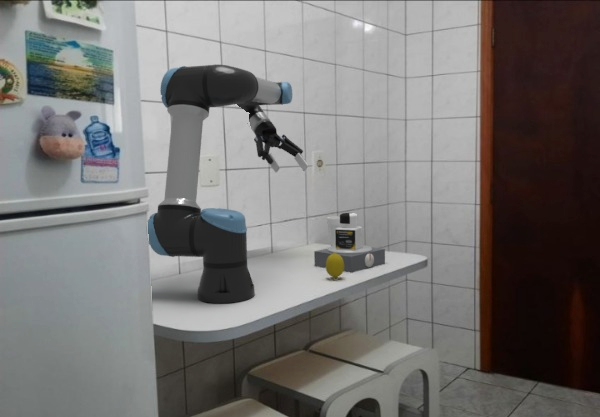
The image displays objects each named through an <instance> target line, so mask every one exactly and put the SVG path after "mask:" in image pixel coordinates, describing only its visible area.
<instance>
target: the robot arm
mask: <svg viewBox="0 0 600 417" xmlns="http://www.w3.org/2000/svg"><path fill="white" fill-rule="evenodd" d="M159 90H160V95H161V98H160V99H161V102H162V104H163V105H164V107H165V108H166V109H167V110H166V112H167V113H168V114H169V115H170V117H171V125H170V126H171V127H170V137H169V146H168V147H169V148H168V155H167V156H168V158H167V159H168V160H167V168H166V169H167V170H166V178H165V179H166V180H165V188H164V189H165V190H164V199H163V201H161V202H160V203H159V204H158V205H157V211H156V212H154V213H153V214H150V216H149V218H148V220H147V222H148V234H149V241H148V243H149V245H150V248H151V250H152V251H153V252H154V253H155V254H156V255H159V256H164V257H165V256H166V257H172V258H175V257H192V258H202V261H203V262H202V264H203V268H202V273H201V276H200V281H199V283H198V287H197V298H198V300H199V301H202V302H205V303H211V304H213V303H214V304H229V303H236V302H243V301H246V300H250V299H251V298H253V297H255V295H256V294H255V293H256V292H255V290H256V289H255V285H254V282H253V279H252V276H251V274H250V270H249V267H248V252H247V251H248V247H247V244H248V243H247V239H248V237H247V231H248V229H247V223H246V217H245V214H243V213H242V212H240V211H237V210H234V209H227V208H220V207H219V208H217V207H216V208H215V207H208V208H203V209H202V208H201V207H200V206H199V205H198V203H197V194H198V183H199V172H200V162H201V160H200V159H201V149H202V148H201V146H202V137H203V136H202V134H203V125H204V124H203V123H204V121H205V120H206V119H207V118H209V116H210V108H216V107H217V108H219V107H227V106H228V107H229V106H232V105H233V106H234V105H235V104H237V105H238V106H239V107H241V108H242V109H244V110H245V111H246V112H249V113H250V114H249V122H250V126H251V128H250V129H251V131H252V132H253V133H254V135H255V137H254V139H253V140H254V143H255V145H256V153H257V157H258V158H261V160H263V161H265V160H266V162H267V163H268V165H270V167H271V168H272V170H273V171H274V173H278V171H279V170H280V169H281V167H282V166H281V165H280V163H279V162H278V161H277V160H276V158H275V156H274V154H272V152H271V153H270V150H271V148H277V149H279V150H283V151H284V152H286V153H287V154H289V155H291V156H293V157H294V160H295V162H296V163H297V165H298V166H299V167H300V168H301V169H302V171H303V172H306V170H307V169H308V167H309V164H308V163H307V161H306V160H305V158H304V156H303V155H302V154H303V153H304V150H303V149H302V148H301V147H299V146H298V145H297V144H295V143H294V142H293V141H291V140H290V139H289V138H288V137H287V136H286V135H285V134H282V136H281V135H279V134H278V133H277V131H278V130H277V128H276V126H275V125H274V124H273V122H272V121H271V119H270V118H269V116H268V115H267V114H266V113H265V111H264V110H263V109H262V107H261V106H272V105H273V106H274V105H276V106H277V105H278V106H280V105H288V104H291V102H292V100H293V87H292V85H291V83H290V82H289V81H280V82H279V81H278V82H275V81H271V80H267V79H264V78H260V77H257V76H256V75H255V74H254V73H252V72H251V71H248V70H245V69H244V68H240V67H235V66H231V65H226V64H208V65H194V66H191V65H190V66H185V65H182V66H179V67H173V68H170V69H169V70H167V71H166V72H165V74H164V75H163V76H162V79H161V82H160V89H159ZM250 126H249V127H250ZM263 144H264V145H263Z"/></svg>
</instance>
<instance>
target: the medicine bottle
mask: <svg viewBox="0 0 600 417" xmlns="http://www.w3.org/2000/svg"><path fill="white" fill-rule="evenodd" d="M339 216H340V225H341V227H339V228H336V229H335V236H336V249H339V250H357V249H359V248H361V247H362V245H363V227H362V226H360V225H359V221H358V220H359V219H358V214H357V213H355V212H344V213H343V212H342V213H340V215H339ZM358 225H359V226H358Z"/></svg>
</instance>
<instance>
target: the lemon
mask: <svg viewBox="0 0 600 417" xmlns="http://www.w3.org/2000/svg"><path fill="white" fill-rule="evenodd" d="M325 270H326V272H327V274H328V275H329V276H330V277H332V279H334V280H336V279H338V277H340V276H341V275H342V274H343V273H344V272H345V271H344V261H343V258H342V257H341V256H340V255H338V254H336V253H333V254H331V255H330V256H329V257H328V258H327V261H326V268H325Z"/></svg>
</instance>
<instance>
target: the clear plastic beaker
mask: <svg viewBox="0 0 600 417" xmlns="http://www.w3.org/2000/svg"><path fill="white" fill-rule="evenodd" d="M326 224H327V227H328V228H327V229H328V234H329V241H330V242H329V243H330V247H331V246H336V236H335V229H336V228H339V227H341V225H340V215H335V216H334V215H333V216H327V217H326Z"/></svg>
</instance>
